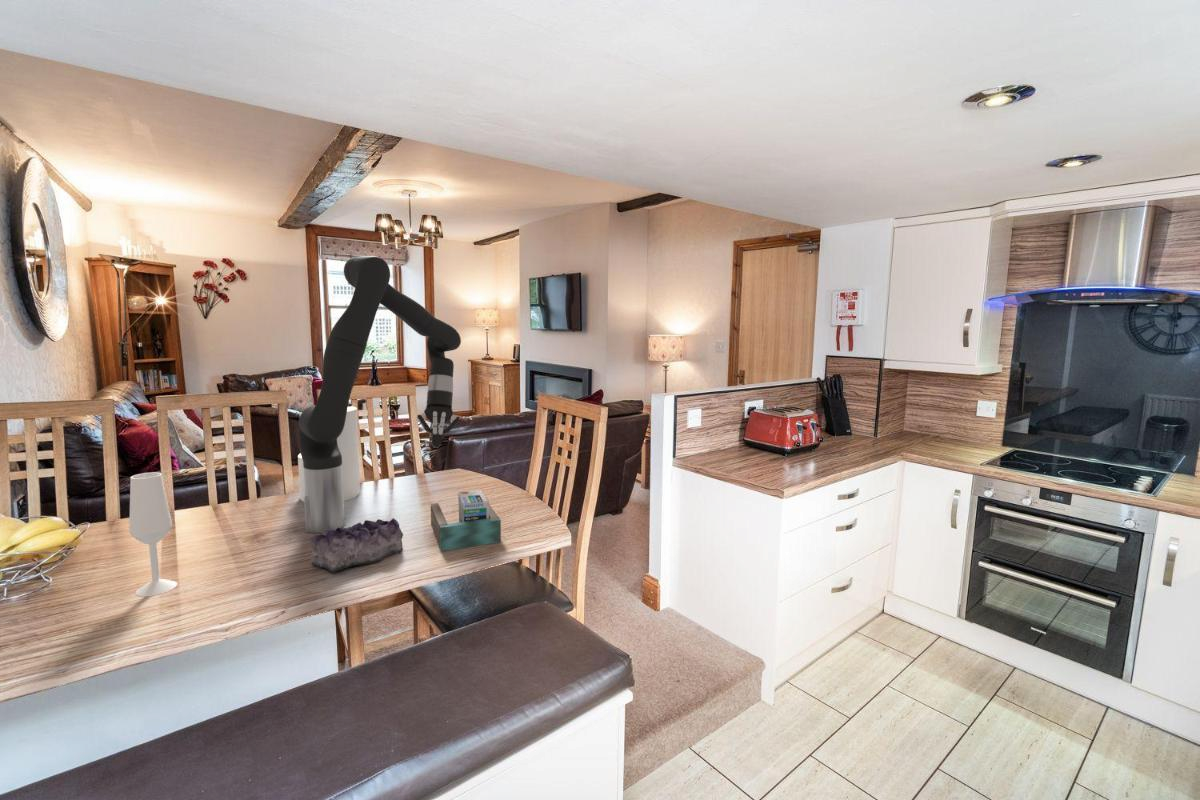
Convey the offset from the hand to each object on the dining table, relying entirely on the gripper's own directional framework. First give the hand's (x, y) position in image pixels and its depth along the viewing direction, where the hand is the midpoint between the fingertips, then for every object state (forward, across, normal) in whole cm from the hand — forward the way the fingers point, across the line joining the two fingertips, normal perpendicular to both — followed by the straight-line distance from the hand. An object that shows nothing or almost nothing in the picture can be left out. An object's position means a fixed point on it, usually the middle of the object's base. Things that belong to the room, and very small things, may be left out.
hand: (436, 447), depth 162 cm
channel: (+24, +7, -18) cm, 31 cm away
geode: (+30, -18, -25) cm, 43 cm away
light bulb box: (+25, +9, -20) cm, 33 cm away
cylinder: (+15, -29, +27) cm, 42 cm away
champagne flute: (+35, -56, -26) cm, 71 cm away
